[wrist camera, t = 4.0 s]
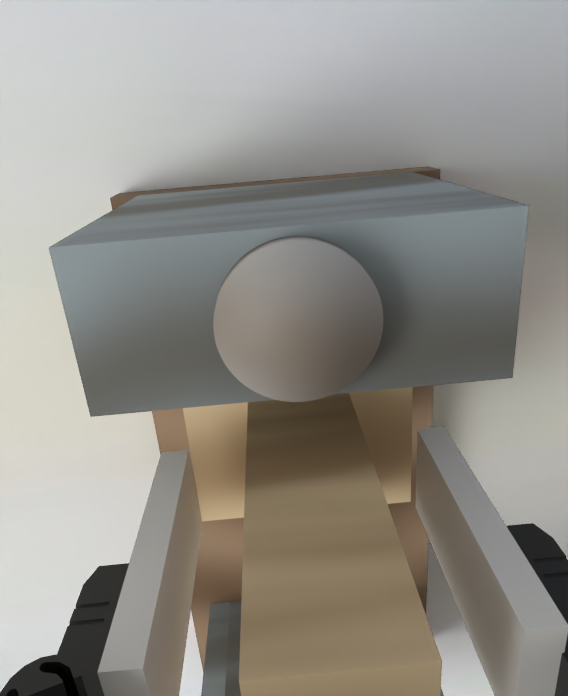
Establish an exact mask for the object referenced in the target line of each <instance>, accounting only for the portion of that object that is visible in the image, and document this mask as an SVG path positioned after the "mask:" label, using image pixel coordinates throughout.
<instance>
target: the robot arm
mask: <svg viewBox="0 0 568 696" xmlns="http://www.w3.org/2000/svg"><path fill="white" fill-rule="evenodd" d="M416 509H417V511H418V513H419V516H420V518H421V521H422V523H423V525H424V528H425V530H426V533H427V535H428V537H429V540H430V542H431V545H432V547H433V549H434V552H435V554H436V556H437V559H438V561H439V564H440V566H441V568H442V571H443V573H444V576H445V578H446V580H447V583H448V585H449V588H450V590H451V592H452V595H453V597H454V599H455V602H456V604H457V607H458V609H459V611H460V614H461V616H462V619H463V621H464V623H465V626H466V628H467V631H468V633H469V635H470V638H471V640H472V642H473V645H474V647H475V650H476V652H477V654H478V657H479V659H480V662H481V664H482V666H483V669H484V671H485V674H486V676H487V678H488V681H489V683H490V685H491V688H492V690H493V693H494V695H495V696H568V560H567V559H566V556H565V554H564V553H563V551H562V550H561V549H560V547H559V546H558V544H557V543H556V542H555V540H554V539H553V538H552V537H551V536H549V535H548V534H547V533H545V532H544V531H543V530H541V529H540V528H539V527H537V526H536V525H534V524H533V523H532V524H521V525H511V526H506V525H505V523H504V522H503V520H502V518H501V517H500V515H499V514H498V512H497V510H496V509H495V507H494V506H493V504H492V502H491V501H490V499H489V498H488V496H487V494H486V493H485V491H484V490H483V488H482V486H481V485H480V483H479V482H478V480H477V478H476V477H475V475H474V474H473V472H472V470H471V469H470V467H469V466H468V464H467V462H466V461H465V459H464V458H463V456H462V454H461V453H460V451H459V450H458V448H457V446H456V445H455V443H454V442H453V440H452V438H451V437H450V435H449V434H448V432H447V430H446V429H445V427H444V426H441V427H430V428H420V429H417V466H416ZM201 529H202V525H201V519H200V513H199V508H198V502H197V496H196V490H195V484H194V479H193V473H192V467H191V461H190V455H189V450H183V451H172V452H162V453H161V456H160V459H159V463H158V466H157V470H156V473H155V477H154V480H153V483H152V487H151V490H150V494H149V497H148V501H147V504H146V507H145V511H144V514H143V518H142V521H141V525H140V528H139V531H138V535H137V538H136V542H135V545H134V549H133V552H132V555H131V559H130V562H129V563H128V564H117V565H107V566H99V567H98V568H97V569H96V571H95V572H94V573H93V574H92V575H91V576H90V578H89V579H88V580H87V581H86V582H85V584H84V585H83V587H82V590H81V593H80V595H79V598H78V601H77V603H76V609H74V611H73V614H72V617H71V619H70V625H69V626H68V627H67V630H66V633H65V635H64V638H63V640H62V643H61V646H60V648H59V651H58V654H57V655H52V656H47V657H42V658H39V659H37V660H35V661H33V662H31V663H30V664H28V665H26V666H24V667H23V668H22V669H21V670H19V671H18V672H17V673H16V674H15V675H14V676H12V677H11V678H10V680H9V681H8V683H7V684H6V685H5V687H4V688H3V690H2V691H1V692H0V696H179V690H180V683H181V676H182V669H183V661H184V654H185V647H186V639H187V632H188V625H189V617H190V610H191V603H192V595H193V588H194V581H195V573H196V566H197V559H198V551H199V544H200V537H201Z"/></svg>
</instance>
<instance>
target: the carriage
mask: <svg viewBox="0 0 568 696" xmlns="http://www.w3.org/2000/svg"><path fill="white" fill-rule="evenodd" d="M412 388H413V387H408V388H397V389H386V390H375V391H364V392H353V393H342V394H332V395H330V396H327V397H324V398H321V399H317V400H312V401H306V402H287V401H280V400H266V401H255V402H244V403H233V404H223V405H212V406H201V407H190V408H183V413H184V419H185V425H186V430H187V436H188V442H189V448H190V454H191V460H192V465H193V471H194V477H195V483H196V489H197V495H198V500H199V506H200V512H201V518H202V521H212V520H223V519H233V518H244V536H243V568H242V599H241V631H240V662H239V685H240V691H241V696H440V690H441V670H442V660H441V657H440V654H439V651H438V648H437V646H436V643H435V640H434V637H433V634H432V631H431V628H430V625H429V623H428V620H427V617H426V614H425V611H424V608H423V605H422V602H421V599H420V597H419V594H418V591H417V588H416V585H415V582H414V579H413V576H412V573H411V571H410V568H409V565H408V562H407V559H406V556H405V553H404V550H403V548H402V545H401V542H400V539H399V536H398V533H397V530H396V527H395V524H394V522H393V519H392V516H391V513H390V510H389V507H388V504H392V503H402V502H411V452H412Z"/></svg>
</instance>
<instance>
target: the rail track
mask: <svg viewBox="0 0 568 696" xmlns="http://www.w3.org/2000/svg"><path fill="white" fill-rule="evenodd" d="M110 200H111V205H112V211H111V212H109V213H107V214H106V215H104V216H102V217H100V218H99V219H97V220H95V221H93V222H92V223H90V224H88V225H87V226H85V227H83V228H81V229H80V230H78V231H76V232H75V233H73V234H71V235H69V236H68V237H66V238H64V239H63V240H61V241H59V242H57V243H56V244H54V245H52V246H51V247H49V251H50V255H51V259H52V263H53V267H54V271H55V275H56V279H57V283H58V287H59V291H60V295H61V299H62V303H63V307H64V311H65V315H66V319H67V323H68V327H69V331H70V335H71V339H72V343H73V347H74V351H75V355H76V359H77V363H78V368H79V372H80V376H81V380H82V384H83V388H84V392H85V396H86V400H87V404H88V408H89V412H90V416H91V417H92V416H103V415H114V414H124V413H135V412H146V411H152V413H153V418H154V423H155V428H156V433H157V439H158V444H159V449H160V454H161V453H162V452H172V451H183V450H189V455H190V461H191V467H192V473H193V479H194V484H195V490H196V496H197V502H198V508H199V513H200V519H201V525H202V529H201V537H200V544H199V551H198V559H197V566H196V573H195V581H194V588H193V595H192V603H191V611H192V616H193V621H194V627H195V632H196V637H197V642H198V647H199V652H200V657H201V662H202V667H203V672H204V674H203V684H202V695H201V696H241V691H240V685H239V662H240V631H241V599H242V568H243V536H244V518H233V519H223V520H212V521H202V518H201V512H200V506H199V500H198V495H197V489H196V483H195V477H194V471H193V465H192V460H191V454H190V448H189V442H188V436H187V430H186V425H185V419H184V413H183V408H190V407H201V406H212V405H223V404H233V403H244V402H255V401H266V400H280V401H287V402H306V401H312V400H317V399H321V398H324V397H327V396H330V395H332V394H342V393H353V392H364V391H375V390H386V389H397V388H408V387H413V388H412V452H411V502H402V503H392V504H388V507H389V510H390V513H391V516H392V519H393V522H394V524H395V527H396V530H397V533H398V536H399V539H400V542H401V545H402V548H403V550H404V553H405V556H406V559H407V562H408V565H409V568H410V571H411V573H412V576H413V579H414V582H415V585H416V588H417V591H418V594H419V597H420V599H421V602H422V605H423V608H424V611H425V614H426V593H427V562H428V535H427V533H426V530H425V528H424V525H423V523H422V521H421V518H420V516H419V513H418V511H417V509H416V466H417V429H420V428H430V427H432V406H433V385H441V384H451V383H462V382H473V381H484V380H495V379H506V378H512V377H513V367H514V356H515V346H516V335H517V325H518V314H519V304H520V293H521V283H522V272H523V262H524V251H525V241H526V230H527V220H528V209H529V206H528V205H525V204H522V203H518V202H515V201H511V200H508V199H504V198H501V197H497V196H494V195H491V194H487V193H484V192H480V191H477V190H473V189H470V188H466V187H463V186H460V185H456V184H453V183H449V182H446V181H442V180H440V169H435V168H431V167H419V168H408V169H396V170H384V171H373V172H361V173H350V174H338V175H326V176H315V177H303V178H292V179H280V180H268V181H257V182H245V183H233V184H222V185H210V186H199V187H187V188H175V189H164V190H152V191H141V192H129V193H119V194H117V195H115V196H113V197H111V198H110ZM440 696H444V695H443V692H442V689H441V690H440Z"/></svg>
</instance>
